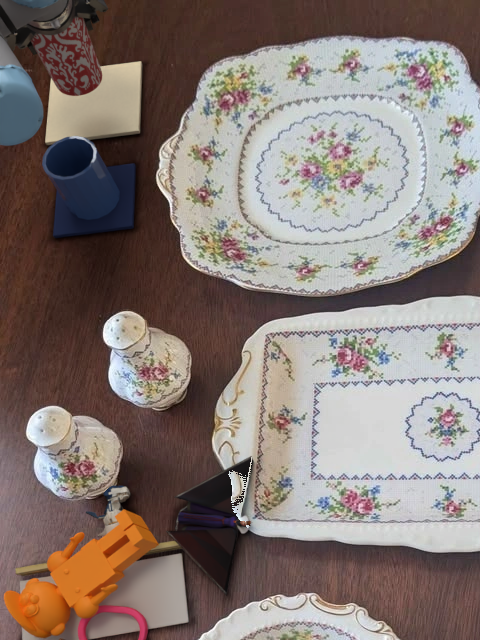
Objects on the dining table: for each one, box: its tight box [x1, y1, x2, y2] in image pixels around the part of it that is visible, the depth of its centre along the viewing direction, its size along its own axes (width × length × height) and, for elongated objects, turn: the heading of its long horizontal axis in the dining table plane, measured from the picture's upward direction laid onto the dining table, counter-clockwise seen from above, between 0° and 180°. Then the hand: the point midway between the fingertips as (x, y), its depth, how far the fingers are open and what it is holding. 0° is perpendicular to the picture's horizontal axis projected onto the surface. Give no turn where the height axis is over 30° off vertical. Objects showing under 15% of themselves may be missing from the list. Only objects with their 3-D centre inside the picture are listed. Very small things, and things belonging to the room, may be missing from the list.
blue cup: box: [41, 136, 120, 220], centre depth 116 cm, size 8×8×9 cm
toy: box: [3, 508, 159, 638], centre depth 93 cm, size 9×18×8 cm, turn 126°
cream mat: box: [44, 60, 143, 146], centre depth 127 cm, size 15×15×1 cm
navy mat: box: [52, 162, 137, 239], centre depth 120 cm, size 12×12×1 cm
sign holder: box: [15, 540, 190, 640], centre depth 96 cm, size 21×2×10 cm
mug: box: [31, 17, 102, 96], centre depth 116 cm, size 13×9×14 cm
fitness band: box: [78, 605, 149, 640], centre depth 94 cm, size 8×6×2 cm
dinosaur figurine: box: [85, 484, 131, 537], centre depth 99 cm, size 5×4×10 cm
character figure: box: [165, 455, 255, 596], centre depth 98 cm, size 18×3×10 cm
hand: (58, 32), depth 119 cm, fingers closed on mug, 8 cm apart
